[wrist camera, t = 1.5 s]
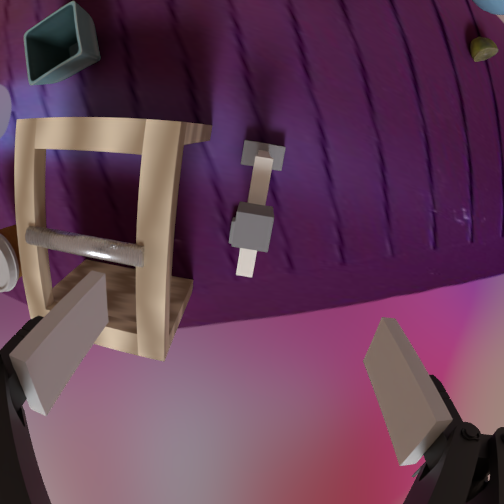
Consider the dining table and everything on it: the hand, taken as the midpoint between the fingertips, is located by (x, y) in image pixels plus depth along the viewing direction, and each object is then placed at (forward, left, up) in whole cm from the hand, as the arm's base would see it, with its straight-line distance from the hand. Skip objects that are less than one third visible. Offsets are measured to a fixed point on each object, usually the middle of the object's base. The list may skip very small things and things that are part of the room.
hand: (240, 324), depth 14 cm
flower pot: (+28, -18, -29) cm, 44 cm away
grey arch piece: (0, 0, -29) cm, 29 cm away
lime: (-29, -30, -29) cm, 51 cm away
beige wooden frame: (+16, +4, -29) cm, 33 cm away
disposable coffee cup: (+36, +12, -29) cm, 48 cm away
